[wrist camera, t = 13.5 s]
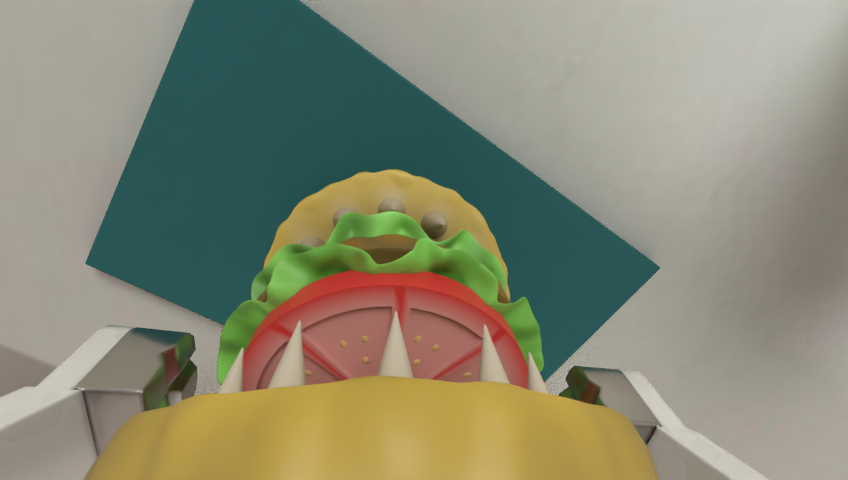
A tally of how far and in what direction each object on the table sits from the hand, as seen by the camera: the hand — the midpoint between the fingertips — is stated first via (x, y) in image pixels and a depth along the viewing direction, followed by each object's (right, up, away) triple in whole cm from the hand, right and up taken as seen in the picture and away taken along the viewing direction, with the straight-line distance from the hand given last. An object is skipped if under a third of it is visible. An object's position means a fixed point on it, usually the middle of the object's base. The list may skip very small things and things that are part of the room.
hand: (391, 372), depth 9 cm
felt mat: (0, +2, +5) cm, 5 cm away
